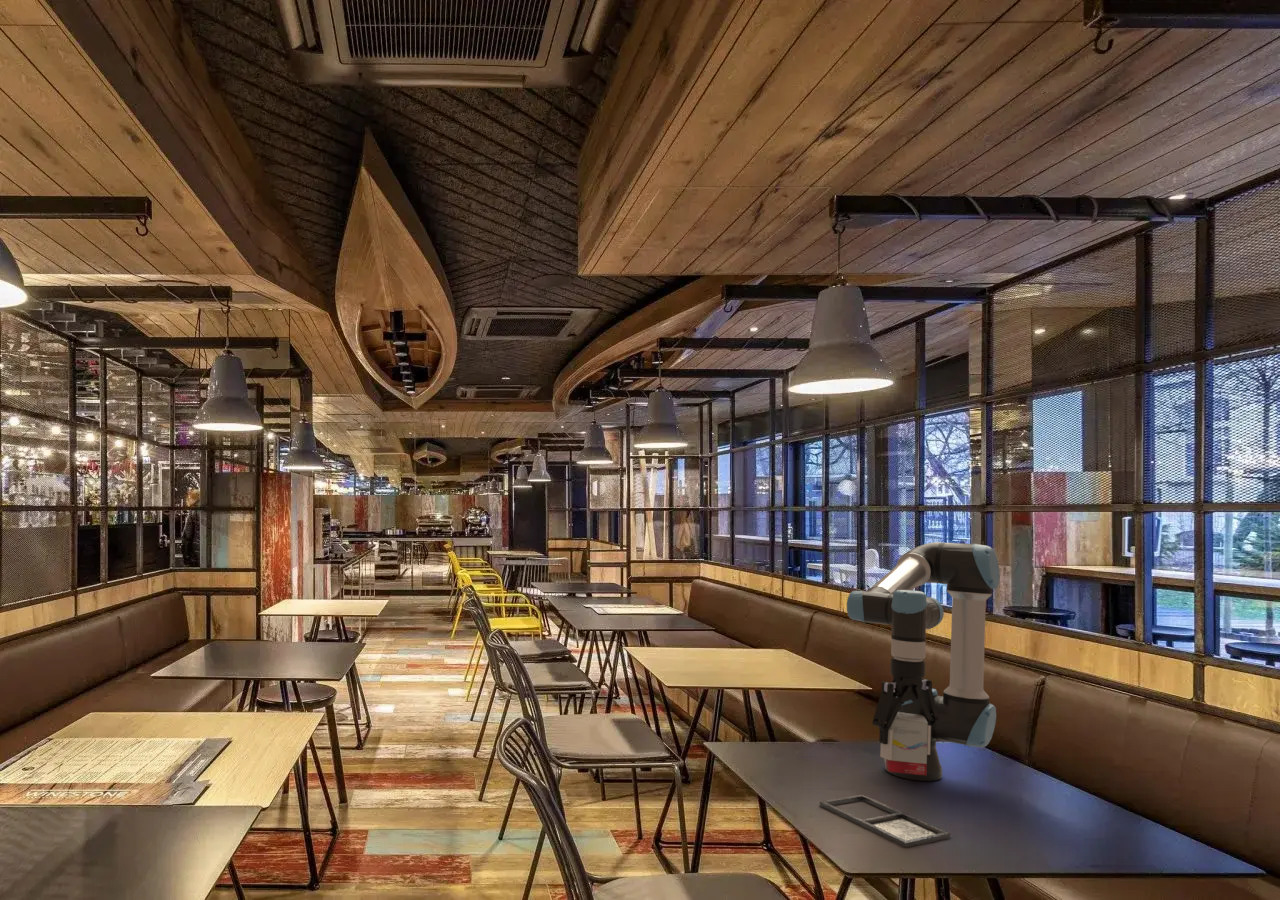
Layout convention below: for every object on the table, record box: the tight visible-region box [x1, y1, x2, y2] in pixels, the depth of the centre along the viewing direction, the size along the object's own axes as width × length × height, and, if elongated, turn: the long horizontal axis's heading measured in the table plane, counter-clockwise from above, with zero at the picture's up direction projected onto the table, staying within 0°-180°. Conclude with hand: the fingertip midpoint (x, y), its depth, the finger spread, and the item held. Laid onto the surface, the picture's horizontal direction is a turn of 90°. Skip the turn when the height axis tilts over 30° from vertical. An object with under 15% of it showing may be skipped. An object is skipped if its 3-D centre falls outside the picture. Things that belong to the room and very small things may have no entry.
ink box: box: [883, 712, 928, 775], centre depth 187 cm, size 9×9×12 cm
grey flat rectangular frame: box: [819, 794, 951, 849], centre depth 191 cm, size 14×27×1 cm, turn 30°
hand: (905, 755), depth 187 cm, fingers closed on ink box, 11 cm apart
